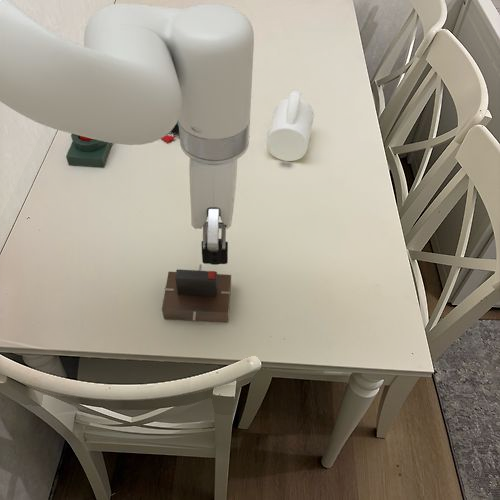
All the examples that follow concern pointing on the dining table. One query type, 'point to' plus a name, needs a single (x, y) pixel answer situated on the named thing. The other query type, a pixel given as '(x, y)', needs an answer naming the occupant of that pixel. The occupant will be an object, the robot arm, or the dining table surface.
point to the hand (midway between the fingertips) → (216, 233)
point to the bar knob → (196, 282)
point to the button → (85, 138)
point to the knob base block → (197, 302)
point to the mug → (290, 128)
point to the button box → (88, 152)
